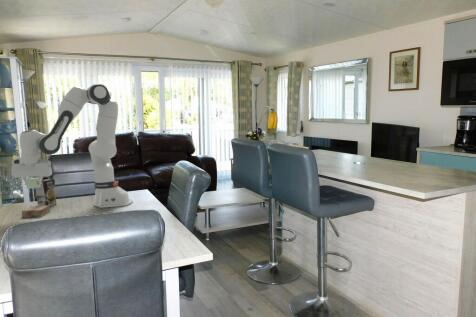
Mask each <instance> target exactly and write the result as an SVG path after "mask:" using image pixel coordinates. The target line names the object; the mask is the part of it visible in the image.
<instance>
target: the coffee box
mask: <svg viewBox="0 0 476 317" xmlns="http://www.w3.org/2000/svg"><path fill="white" fill-rule="evenodd" d="M55 181H56V180H55V178H45V179H44V178H43V179H42V181H41V184H40V186H41V187H38V188H35V191H36V202H37V203H36V204H37V205H36V206H49V208H50V207H53V206H56V205H57V195H56V194H57V193H56V184H55V183H56V182H55ZM55 204H56V205H55Z"/></svg>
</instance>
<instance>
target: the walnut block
mask: <svg viewBox="0 0 476 317" xmlns="http://www.w3.org/2000/svg"><path fill="white" fill-rule="evenodd" d="M48 213H50V207H49V206H38V205H31V206H29V207H27V208H25V209H23V210H21V217H22V218H40V217H41V218H42V217H43V216H45V215H46V214H48Z"/></svg>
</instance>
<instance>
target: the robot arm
mask: <svg viewBox="0 0 476 317" xmlns="http://www.w3.org/2000/svg"><path fill="white" fill-rule="evenodd" d="M87 103H88V104H91V105H97V106H98V114H97V119H96V124H95V125H96V126H95V130H96V139H95V140H94V141H91V143H90V144H89V145H88V152H89V154H90V158H91V163H92V167H93V177H94V186H93V187H94V188H93V189H94V192H95V193H94V196H95V197H94V202H93V203H94V204H93V206H95V207H98V208H101V209H102V208H113V207H124V206H125V207H126V206H130V205H131V204H132V203H133V198H130V197H129V194H128V192H127V191H126V190H125V189H123V188H122V187H120V186H119V181H118V180H115V174H114V171H115V170H114V166H113V164H112V160H111V159H112V158H113V157H115V156H116V154H117V146H116V130H117V123H118V122H117V121H118V116H119V104H118V102H117V101H116V100H114V99H112V98H111V95H110V92H109V89H108V88H107V87H106V86H105V85H104V84H102V83H95V84H92V85H90V86H89V87H88V88H83V87H81V86H78V85H75V86H72V88H71V89H69V90H68V92H67V93H66V94H65V96H63V98H62V100H61V102H60V104H59V105H58V109H57V114H58V115H57V120H56V122H55V123H54V124H53V126H52V128H51V130H50V131H49V133H48V134H46V133H42V132H40V131H38V130H36V129H28V130H24V131H22V132H21V133H20V134H19V147H20V150H21V153H20V157H18V158H15V159H13V160H11V163H12V165H11V177H12V178H22V180H23V182H24V185H25V186H26V179H28V178H40V179H39V181H37V185H40V184H41V181H42V180H44V177H50V176H52V175H53V170H52V161H51V160H49V159H46V158H44V159H43V158H42V159H41V155H40V153H41V152H42V153H43V154H45V155H55V154H56V153H58V152H59V151H60V148H61V144H62V143H61V142H62V139H63V136H64V135H65V133H66V131H67V130H68V128H69V126H70V124H71V123H72V122H73V121H74V120H75V119H76V118H77V116H78V115H79V114H80V113H81V111H82V109H83V107H84V106H85V104H87Z"/></svg>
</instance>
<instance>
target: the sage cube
mask: <svg viewBox="0 0 476 317" xmlns="http://www.w3.org/2000/svg"><path fill="white" fill-rule="evenodd" d="M39 179H40V178H39V177H28V178H26V185H25V186H26V190H27V189H29V190H30V189H36V188H38V187H41V186H40V185H37V181H39Z"/></svg>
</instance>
